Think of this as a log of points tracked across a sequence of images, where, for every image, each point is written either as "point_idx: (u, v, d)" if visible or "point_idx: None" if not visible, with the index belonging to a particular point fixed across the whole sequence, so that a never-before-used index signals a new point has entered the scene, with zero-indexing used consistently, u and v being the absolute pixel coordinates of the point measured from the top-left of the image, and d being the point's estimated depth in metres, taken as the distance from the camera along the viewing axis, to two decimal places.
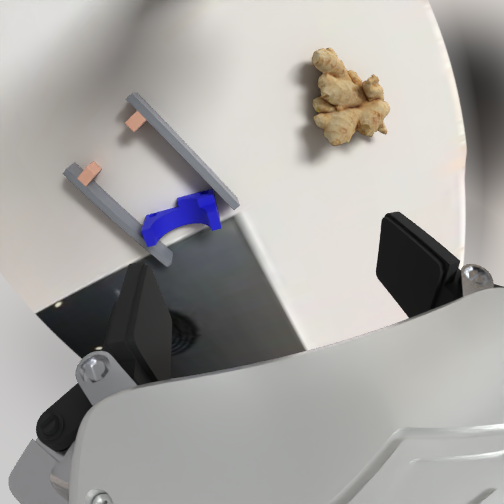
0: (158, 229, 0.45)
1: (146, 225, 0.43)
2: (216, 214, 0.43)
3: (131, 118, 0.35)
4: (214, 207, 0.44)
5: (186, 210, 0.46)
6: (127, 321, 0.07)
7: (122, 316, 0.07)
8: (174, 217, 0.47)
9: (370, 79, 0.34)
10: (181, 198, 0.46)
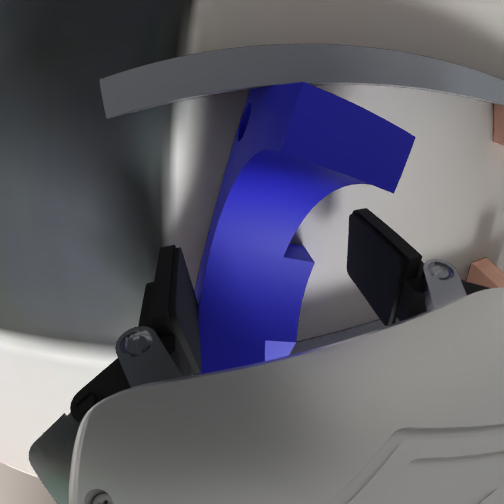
0: (296, 172, 0.08)
1: None
2: None
3: None
4: None
5: (264, 278, 0.12)
6: (168, 297, 0.08)
7: (161, 293, 0.08)
8: (267, 228, 0.11)
9: None
10: None
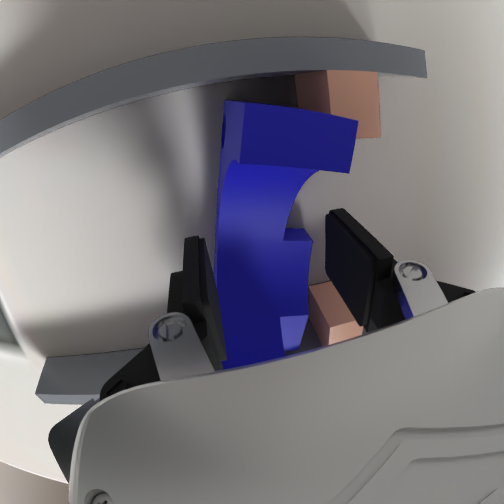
0: (270, 168, 0.09)
1: None
2: None
3: (358, 333, 0.15)
4: None
5: (270, 262, 0.14)
6: (198, 283, 0.08)
7: (192, 280, 0.08)
8: (262, 218, 0.13)
9: None
10: None
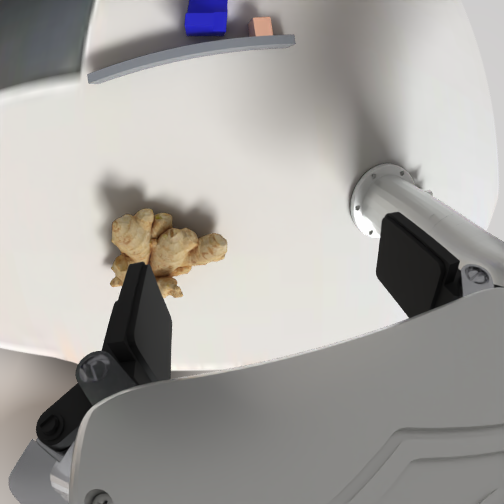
0: None
1: None
2: (208, 23, 0.22)
3: (269, 25, 0.25)
4: None
5: None
6: (128, 321, 0.07)
7: (122, 316, 0.07)
8: None
9: (178, 290, 0.37)
10: None
